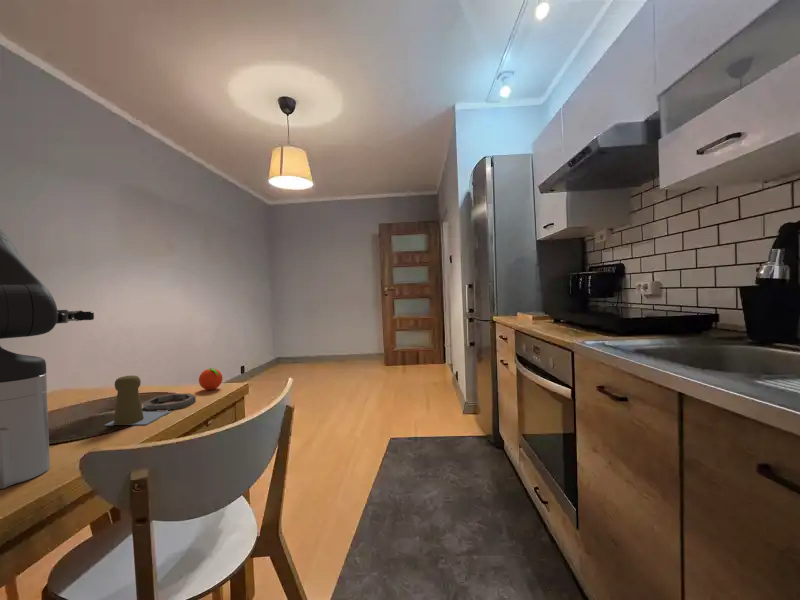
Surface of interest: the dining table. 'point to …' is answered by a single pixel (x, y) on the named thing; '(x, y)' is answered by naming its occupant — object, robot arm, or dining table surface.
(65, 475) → the dining table surface
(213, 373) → the clementine
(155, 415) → the rubber mat
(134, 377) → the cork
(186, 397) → the dark grey flat ring
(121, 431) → the dining table surface
